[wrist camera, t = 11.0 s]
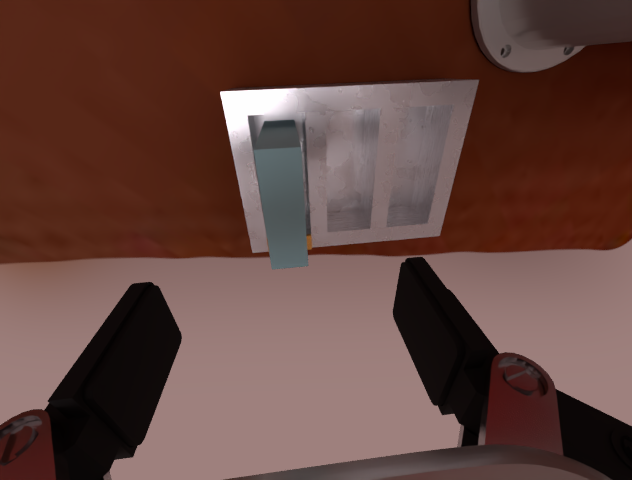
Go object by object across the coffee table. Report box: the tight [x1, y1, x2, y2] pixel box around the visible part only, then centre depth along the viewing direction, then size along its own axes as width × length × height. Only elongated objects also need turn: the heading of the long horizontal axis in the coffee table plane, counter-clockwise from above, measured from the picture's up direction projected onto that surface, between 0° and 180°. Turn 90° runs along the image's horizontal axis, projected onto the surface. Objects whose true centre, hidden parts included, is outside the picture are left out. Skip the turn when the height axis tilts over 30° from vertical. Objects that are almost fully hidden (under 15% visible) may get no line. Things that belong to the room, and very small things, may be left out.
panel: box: [254, 120, 308, 269], centre depth 20 cm, size 2×8×10 cm, turn 2°
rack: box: [220, 79, 479, 253], centre depth 24 cm, size 18×13×5 cm
